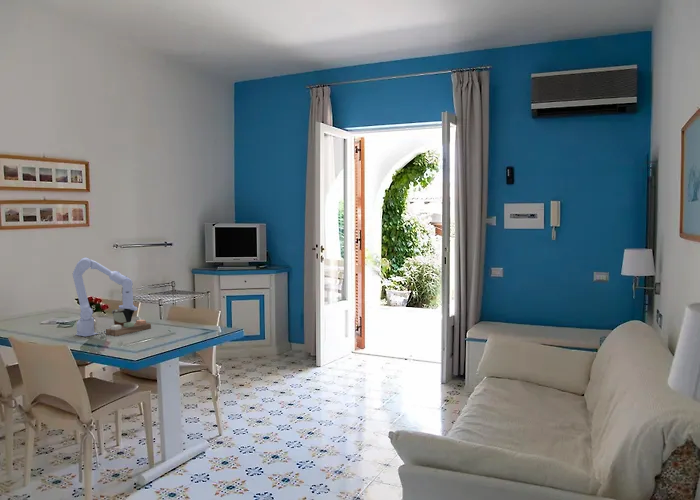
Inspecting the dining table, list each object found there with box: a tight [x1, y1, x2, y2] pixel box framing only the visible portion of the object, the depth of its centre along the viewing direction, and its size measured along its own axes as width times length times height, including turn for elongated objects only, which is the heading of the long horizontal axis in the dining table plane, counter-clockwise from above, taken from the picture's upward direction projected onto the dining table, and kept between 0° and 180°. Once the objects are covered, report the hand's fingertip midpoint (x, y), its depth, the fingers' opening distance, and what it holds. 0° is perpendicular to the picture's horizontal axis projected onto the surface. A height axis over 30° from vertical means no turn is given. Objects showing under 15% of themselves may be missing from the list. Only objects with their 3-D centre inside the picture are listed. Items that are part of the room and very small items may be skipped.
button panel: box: [105, 322, 152, 337], centre depth 334 cm, size 9×24×3 cm, turn 148°
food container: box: [111, 308, 127, 326], centre depth 352 cm, size 12×6×10 cm, turn 84°
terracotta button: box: [135, 319, 147, 325], centre depth 341 cm, size 4×4×3 cm
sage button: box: [124, 321, 135, 327], centre depth 334 cm, size 4×4×3 cm
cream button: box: [110, 325, 121, 330], centre depth 327 cm, size 4×4×3 cm
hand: (128, 321), depth 334 cm, fingers closed
